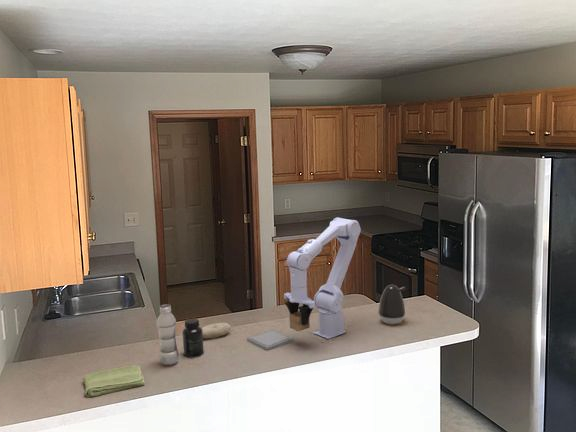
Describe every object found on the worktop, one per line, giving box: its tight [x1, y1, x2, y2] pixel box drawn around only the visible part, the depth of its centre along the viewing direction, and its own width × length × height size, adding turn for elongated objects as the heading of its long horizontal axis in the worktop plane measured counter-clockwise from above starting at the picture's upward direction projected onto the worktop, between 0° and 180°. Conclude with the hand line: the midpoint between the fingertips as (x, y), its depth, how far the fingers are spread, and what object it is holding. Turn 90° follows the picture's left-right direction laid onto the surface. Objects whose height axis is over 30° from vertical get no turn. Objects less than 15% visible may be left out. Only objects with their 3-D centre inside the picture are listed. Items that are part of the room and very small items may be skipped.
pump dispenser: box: [378, 284, 406, 325], centre depth 211 cm, size 10×10×15 cm
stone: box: [201, 322, 232, 340], centre depth 203 cm, size 6×6×12 cm
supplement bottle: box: [182, 318, 205, 358], centre depth 187 cm, size 7×7×12 cm
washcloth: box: [82, 364, 145, 398], centre depth 168 cm, size 13×18×3 cm
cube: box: [289, 310, 311, 332], centre depth 192 cm, size 5×5×5 cm
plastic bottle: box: [156, 303, 180, 366], centre depth 180 cm, size 6×7×20 cm
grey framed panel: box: [246, 329, 294, 351], centre depth 197 cm, size 12×12×1 cm
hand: (299, 322), depth 192 cm, fingers closed on cube, 5 cm apart
